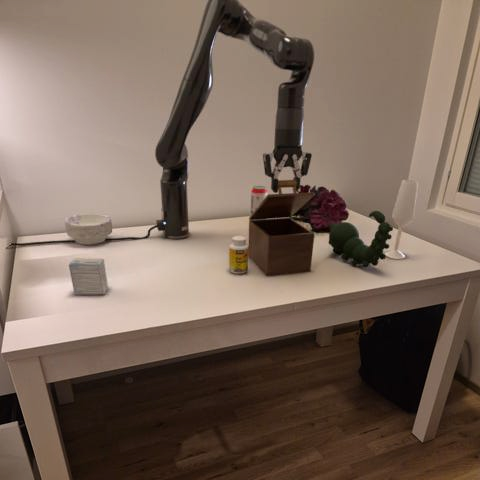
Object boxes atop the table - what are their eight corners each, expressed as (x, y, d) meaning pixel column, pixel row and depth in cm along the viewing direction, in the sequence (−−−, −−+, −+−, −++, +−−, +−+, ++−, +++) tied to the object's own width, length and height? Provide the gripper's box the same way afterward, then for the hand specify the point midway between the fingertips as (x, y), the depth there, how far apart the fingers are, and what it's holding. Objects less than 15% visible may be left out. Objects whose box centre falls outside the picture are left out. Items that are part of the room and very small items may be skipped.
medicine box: (108, 288, 113) (104, 257, 109) (104, 295, 109) (99, 264, 105) (79, 288, 113) (73, 257, 109) (74, 295, 109) (68, 264, 105)
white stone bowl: (116, 245, 144) (113, 222, 140) (69, 250, 139) (65, 226, 135) (111, 232, 156) (108, 211, 153) (67, 236, 151) (63, 214, 148)
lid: (315, 194, 118) (312, 175, 118) (268, 197, 114) (265, 177, 114) (290, 217, 135) (287, 200, 136) (249, 220, 132) (246, 202, 132)
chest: (310, 271, 127) (314, 233, 121) (266, 276, 123) (268, 236, 117) (287, 252, 141) (290, 217, 136) (248, 255, 137) (249, 220, 132)
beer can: (247, 228, 165) (248, 186, 157) (261, 226, 167) (263, 185, 160) (254, 232, 160) (255, 189, 152) (268, 230, 162) (271, 188, 155)
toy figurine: (387, 275, 129) (336, 244, 147) (404, 216, 119) (347, 190, 137) (364, 280, 125) (314, 248, 143) (380, 219, 115) (324, 193, 133)
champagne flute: (387, 250, 145) (401, 178, 133) (407, 254, 142) (423, 180, 130) (382, 256, 140) (396, 181, 128) (402, 260, 137) (419, 184, 125)
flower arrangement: (280, 215, 183) (283, 179, 176) (320, 211, 190) (323, 177, 182) (317, 235, 158) (322, 195, 151) (361, 231, 164) (367, 192, 157)
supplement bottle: (234, 275, 122) (234, 242, 118) (226, 269, 127) (226, 236, 122) (250, 272, 125) (252, 239, 120) (242, 266, 129) (243, 234, 124)
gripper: (307, 126, 117) (302, 188, 125) (259, 126, 113) (257, 190, 121) (319, 127, 111) (313, 193, 118) (268, 127, 107) (266, 195, 115)
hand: (285, 191), depth 120 cm, fingers closed on lid, 5 cm apart
